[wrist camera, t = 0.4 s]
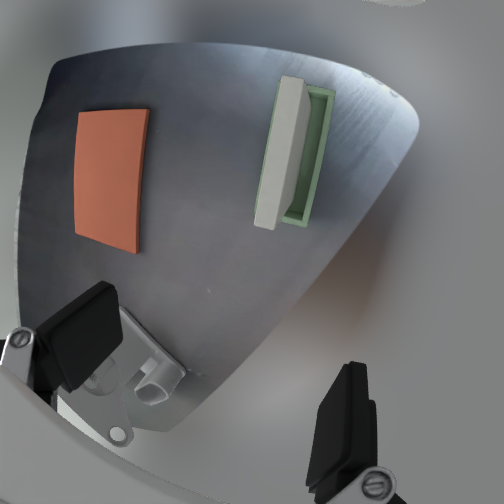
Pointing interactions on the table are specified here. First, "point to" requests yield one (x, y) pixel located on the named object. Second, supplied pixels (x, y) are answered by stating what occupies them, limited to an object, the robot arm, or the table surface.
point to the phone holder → (125, 381)
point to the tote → (308, 155)
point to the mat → (110, 176)
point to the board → (284, 152)
